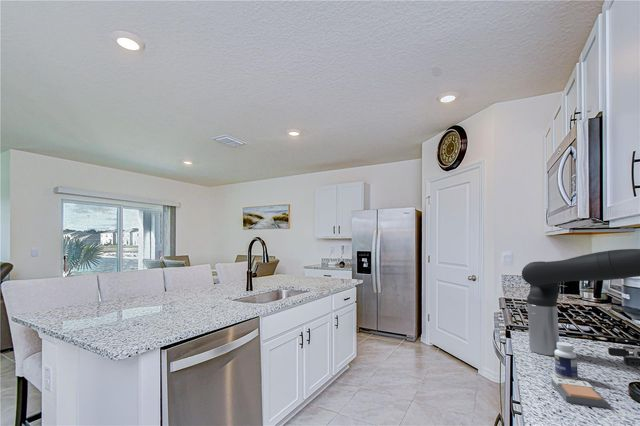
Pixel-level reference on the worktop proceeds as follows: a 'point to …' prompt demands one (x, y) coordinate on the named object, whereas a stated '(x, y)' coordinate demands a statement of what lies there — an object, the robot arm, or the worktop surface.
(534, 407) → the worktop surface
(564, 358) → the pill bottle
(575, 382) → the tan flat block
